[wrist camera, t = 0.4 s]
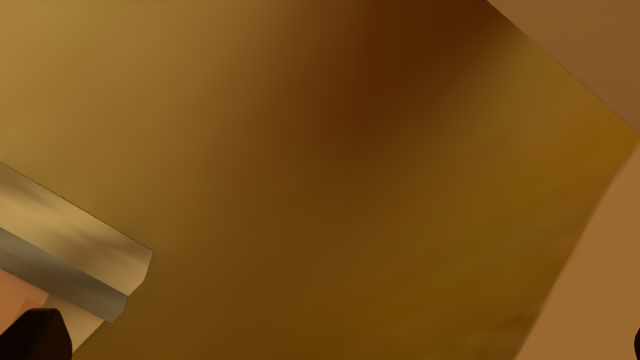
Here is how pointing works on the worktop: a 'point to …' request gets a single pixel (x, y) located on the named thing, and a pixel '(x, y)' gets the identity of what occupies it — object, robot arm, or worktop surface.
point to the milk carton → (588, 45)
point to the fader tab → (17, 297)
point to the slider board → (67, 255)
